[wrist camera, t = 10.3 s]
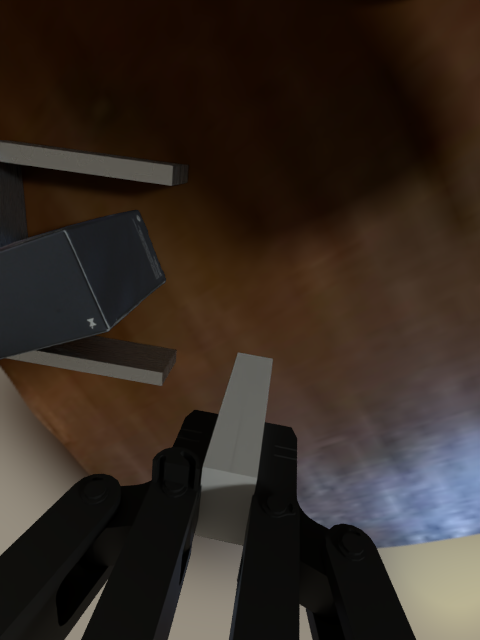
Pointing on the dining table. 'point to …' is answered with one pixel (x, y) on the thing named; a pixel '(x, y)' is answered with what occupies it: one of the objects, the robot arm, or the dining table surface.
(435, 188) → the dining table surface
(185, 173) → the grey u-shaped bracket
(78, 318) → the small box
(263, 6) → the dining table surface
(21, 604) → the robot arm
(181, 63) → the dining table surface
